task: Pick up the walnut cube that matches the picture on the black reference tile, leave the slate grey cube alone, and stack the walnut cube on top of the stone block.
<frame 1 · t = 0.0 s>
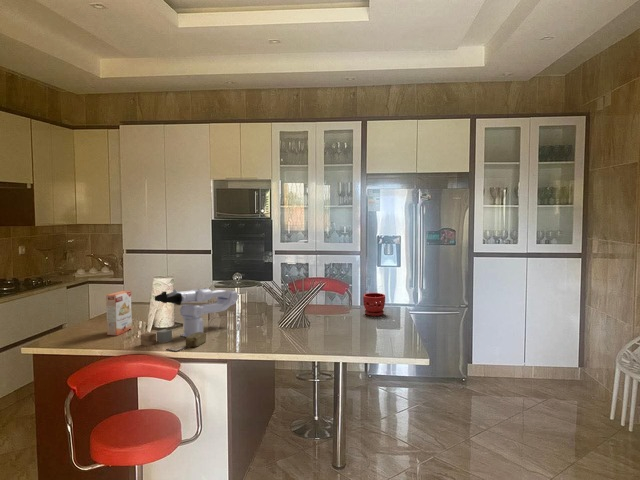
hand: (160, 299, 236), 22 cm above the kitchen island, tool horizontal, fingers open, 7 cm apart
stone block: (196, 345, 237), on the kitchen island
plant pot: (374, 314, 299), on the kitchen island
cracker box: (120, 332, 261), on the kitchen island
walnut cube: (148, 344, 238), on the kitchen island
slate grey cube: (164, 341, 244), on the kitchen island
reference tile: (176, 349, 229), on the kitchen island
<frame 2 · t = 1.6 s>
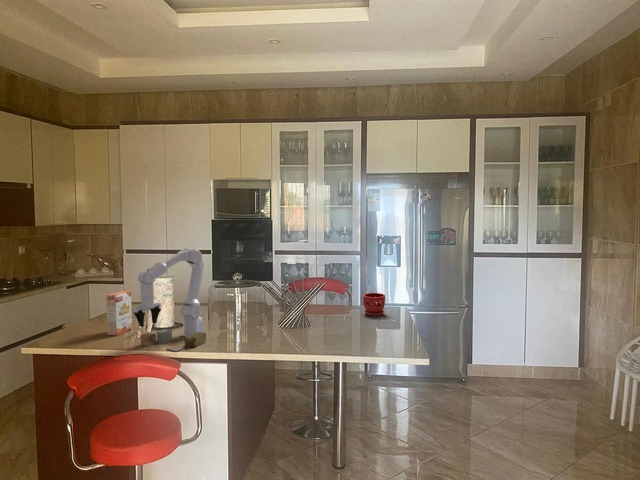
hand: (148, 324, 237), 9 cm above the kitchen island, tool pointing down, fingers open, 7 cm apart
nothing on the kitchen island moved.
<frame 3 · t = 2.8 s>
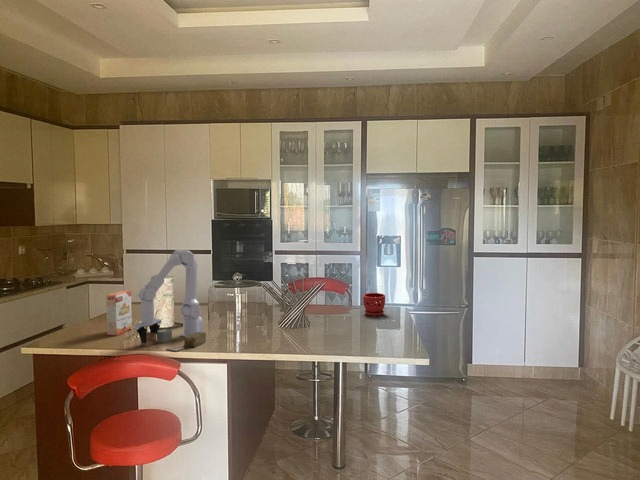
hand: (148, 341, 238), 1 cm above the kitchen island, tool pointing down, fingers closed on walnut cube, 5 cm apart
walnut cube: (148, 344, 238), on the kitchen island, touching gripper
everything else where it was.
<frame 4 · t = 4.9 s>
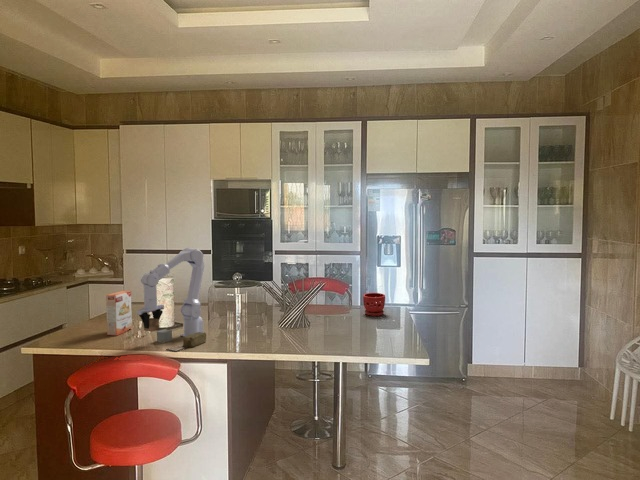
hand: (151, 326, 237), 8 cm above the kitchen island, tool pointing down, fingers closed on walnut cube, 5 cm apart
walnut cube: (151, 329, 238), point 7 cm above the kitchen island, touching gripper
everything else where it was.
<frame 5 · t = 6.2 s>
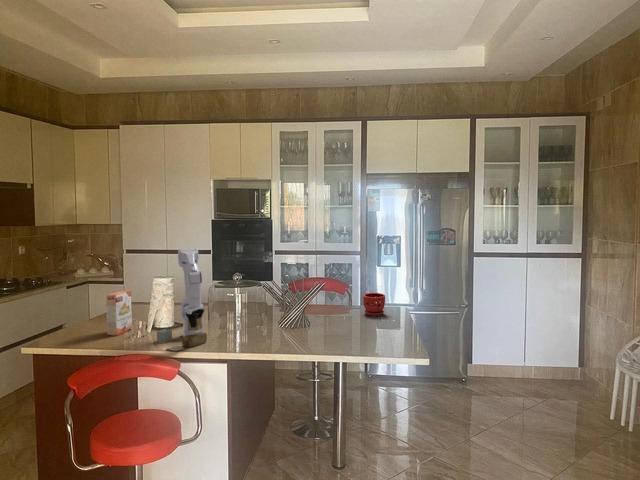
hand: (195, 325, 237), 9 cm above the kitchen island, tool pointing down, fingers closed on walnut cube, 5 cm apart
walnut cube: (195, 329, 237), point 7 cm above the kitchen island, touching gripper
when the fingers open (7 cm above the kitchen island, at t = 7.0 s): walnut cube drops 1 cm, resting on stone block.
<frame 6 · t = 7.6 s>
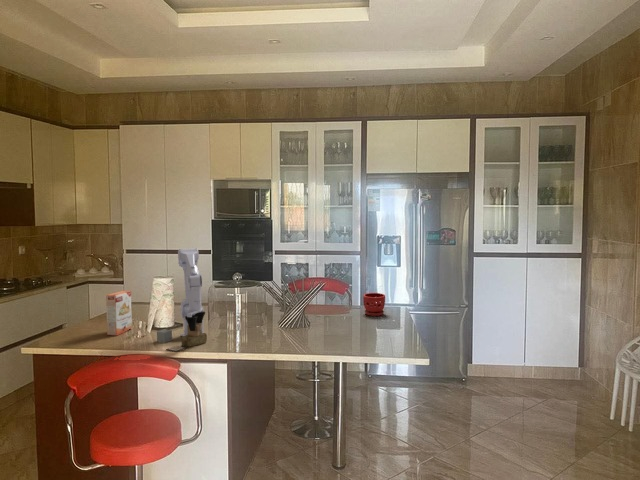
hand: (195, 328, 237), 7 cm above the kitchen island, tool pointing down, fingers open, 7 cm apart
stone block: (194, 345, 238), on the kitchen island, touching walnut cube
walnut cube: (194, 334, 237), point 5 cm above the kitchen island, touching stone block
everything else where it was.
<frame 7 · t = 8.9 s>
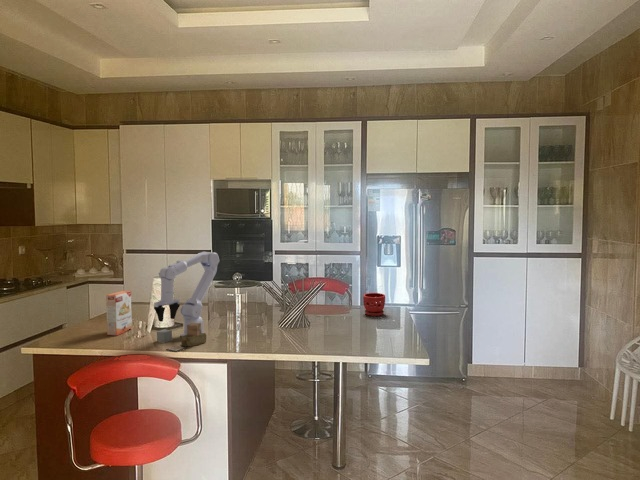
hand: (166, 319, 243), 10 cm above the kitchen island, tool pointing down, fingers open, 7 cm apart
nothing on the kitchen island moved.
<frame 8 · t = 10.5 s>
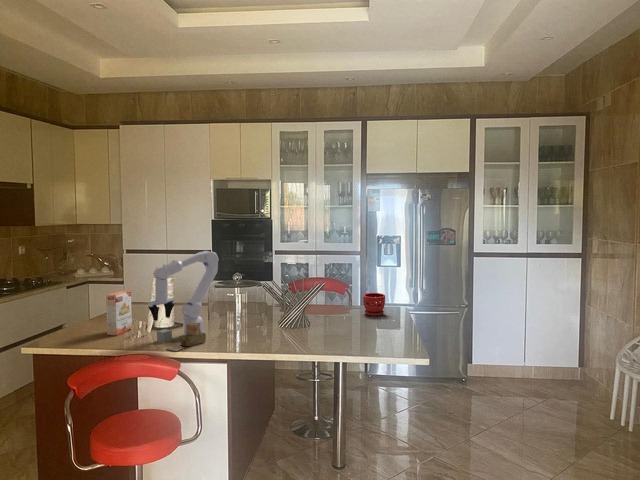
hand: (161, 319, 245), 10 cm above the kitchen island, tool pointing down, fingers open, 7 cm apart
stone block: (193, 344, 238), on the kitchen island
walnut cube: (193, 334, 238), point 5 cm above the kitchen island
everything else where it was.
at the end: walnut cube 0.3 cm from the stone block (horizontally); walnut cube point 4.7 cm above the kitchen island; walnut cube tilted 0° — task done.
